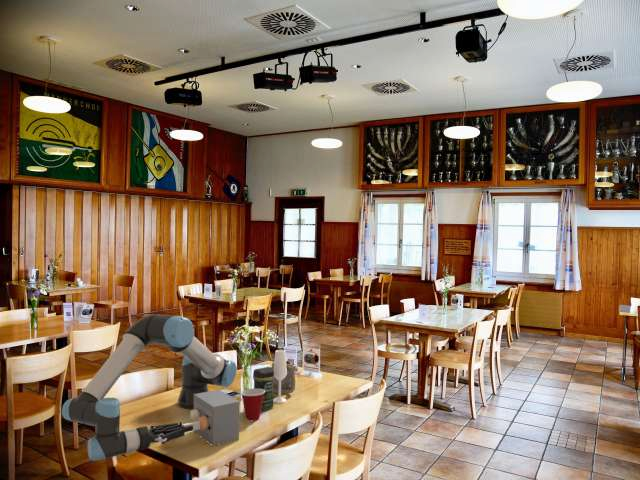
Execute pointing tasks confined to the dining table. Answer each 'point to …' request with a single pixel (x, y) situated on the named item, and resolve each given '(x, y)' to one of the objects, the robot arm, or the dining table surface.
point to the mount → (218, 416)
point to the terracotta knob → (204, 422)
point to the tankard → (286, 379)
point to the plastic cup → (252, 403)
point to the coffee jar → (265, 385)
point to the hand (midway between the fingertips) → (199, 424)
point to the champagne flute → (280, 372)
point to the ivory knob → (194, 415)
